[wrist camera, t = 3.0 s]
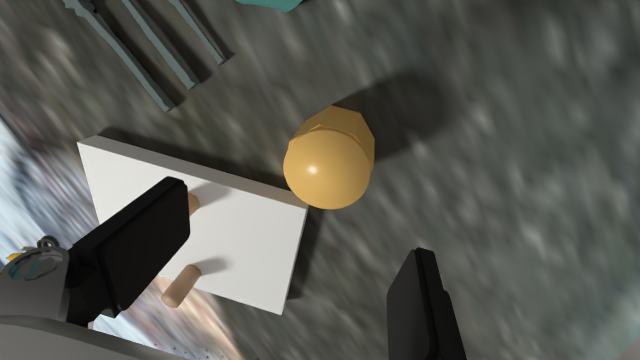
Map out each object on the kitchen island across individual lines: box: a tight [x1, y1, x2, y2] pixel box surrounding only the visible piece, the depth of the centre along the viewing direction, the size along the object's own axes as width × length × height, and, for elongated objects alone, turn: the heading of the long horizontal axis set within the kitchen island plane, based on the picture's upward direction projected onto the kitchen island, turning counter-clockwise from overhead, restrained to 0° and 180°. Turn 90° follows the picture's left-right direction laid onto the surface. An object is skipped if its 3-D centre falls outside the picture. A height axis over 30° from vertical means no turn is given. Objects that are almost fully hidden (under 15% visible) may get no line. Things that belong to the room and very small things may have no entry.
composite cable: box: [6, 236, 58, 261], centre depth 38 cm, size 10×5×2 cm, turn 120°
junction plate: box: [77, 135, 309, 315], centre depth 27 cm, size 22×16×6 cm
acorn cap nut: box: [284, 105, 375, 209], centre depth 20 cm, size 6×6×6 cm
